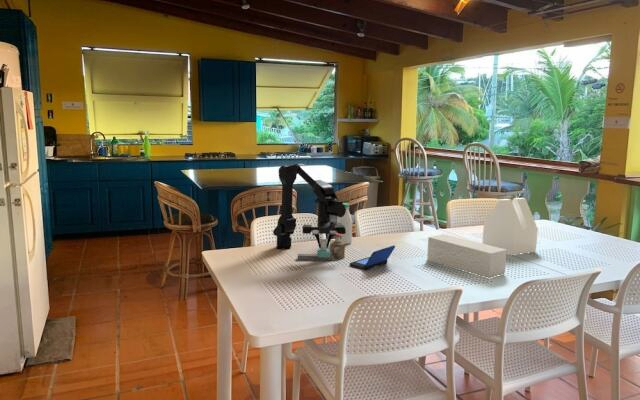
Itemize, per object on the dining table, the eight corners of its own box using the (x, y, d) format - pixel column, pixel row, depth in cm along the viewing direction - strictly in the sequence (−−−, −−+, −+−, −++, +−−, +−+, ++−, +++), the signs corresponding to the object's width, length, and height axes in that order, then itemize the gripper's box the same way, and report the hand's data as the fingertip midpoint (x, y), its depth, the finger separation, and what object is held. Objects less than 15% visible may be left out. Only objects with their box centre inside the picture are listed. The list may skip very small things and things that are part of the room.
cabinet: (331, 257, 223) (331, 244, 222) (330, 252, 231) (330, 240, 230) (344, 257, 223) (344, 244, 222) (343, 252, 231) (343, 240, 230)
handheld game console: (371, 259, 222) (371, 239, 221) (395, 265, 213) (396, 245, 212) (348, 266, 211) (348, 245, 210) (372, 273, 202) (373, 251, 201)
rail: (297, 260, 218) (297, 255, 218) (297, 258, 221) (297, 253, 221) (333, 260, 219) (334, 255, 219) (333, 258, 222) (333, 254, 221)
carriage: (317, 257, 217) (318, 240, 216) (317, 254, 222) (317, 237, 221) (329, 257, 218) (329, 240, 216) (328, 254, 222) (329, 237, 221)
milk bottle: (351, 241, 254) (352, 202, 250) (351, 244, 246) (352, 205, 243) (336, 240, 254) (337, 201, 251) (335, 244, 247) (336, 204, 243)
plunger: (334, 245, 225) (334, 234, 224) (333, 243, 228) (333, 232, 227) (341, 245, 225) (341, 234, 224) (340, 243, 228) (340, 233, 227)
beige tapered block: (482, 246, 249) (485, 196, 244) (504, 243, 255) (508, 195, 251) (512, 255, 232) (516, 203, 227) (535, 252, 238) (540, 201, 234)
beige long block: (427, 260, 222) (428, 237, 220) (442, 256, 228) (444, 234, 227) (489, 279, 197) (491, 253, 195) (504, 275, 203) (506, 249, 201)
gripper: (302, 217, 208) (302, 253, 211) (347, 217, 209) (346, 253, 212) (302, 212, 219) (302, 246, 222) (344, 212, 220) (344, 246, 223)
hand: (323, 248), depth 219 cm, fingers closed on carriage, 3 cm apart
